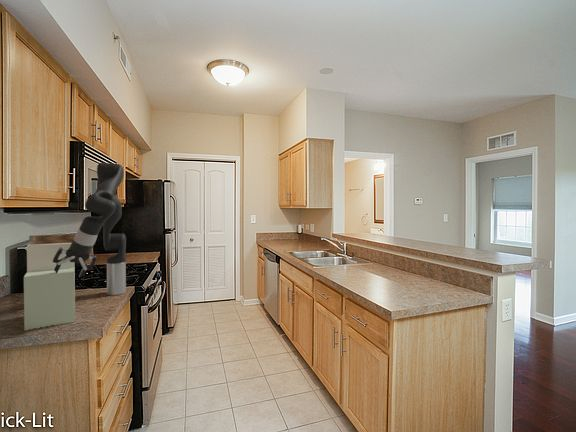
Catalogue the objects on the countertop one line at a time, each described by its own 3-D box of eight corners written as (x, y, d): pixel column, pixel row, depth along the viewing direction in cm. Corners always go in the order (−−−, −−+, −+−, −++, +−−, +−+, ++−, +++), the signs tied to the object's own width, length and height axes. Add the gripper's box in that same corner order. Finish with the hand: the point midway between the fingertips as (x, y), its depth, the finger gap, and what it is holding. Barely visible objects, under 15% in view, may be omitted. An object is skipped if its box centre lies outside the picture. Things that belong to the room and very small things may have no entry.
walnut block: (94, 240, 144) (94, 233, 144) (95, 241, 141) (95, 233, 141) (30, 243, 130) (30, 235, 130) (29, 244, 128) (29, 236, 127)
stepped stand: (30, 315, 134) (29, 243, 133) (74, 308, 143) (74, 241, 142) (24, 330, 117) (23, 248, 116) (74, 321, 127) (74, 245, 126)
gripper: (103, 241, 133) (87, 273, 134) (65, 231, 124) (49, 265, 126) (103, 249, 127) (87, 282, 128) (63, 239, 118) (46, 274, 120)
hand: (68, 274), depth 127 cm, fingers open, 8 cm apart
